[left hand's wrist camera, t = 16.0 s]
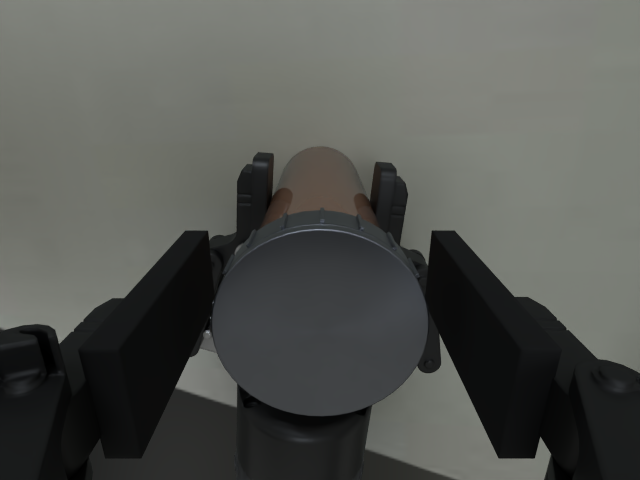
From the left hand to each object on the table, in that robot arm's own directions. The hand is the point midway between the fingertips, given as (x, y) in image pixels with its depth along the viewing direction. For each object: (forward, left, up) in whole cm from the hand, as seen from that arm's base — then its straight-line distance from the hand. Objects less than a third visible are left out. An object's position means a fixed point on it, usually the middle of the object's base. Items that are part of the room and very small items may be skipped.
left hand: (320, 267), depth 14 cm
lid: (0, 0, +4) cm, 4 cm away
